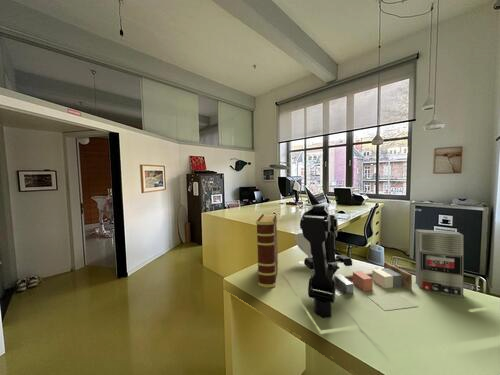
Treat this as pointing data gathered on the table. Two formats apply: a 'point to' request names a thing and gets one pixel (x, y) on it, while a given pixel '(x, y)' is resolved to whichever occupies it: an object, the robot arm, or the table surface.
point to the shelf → (405, 275)
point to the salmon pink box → (362, 280)
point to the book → (394, 277)
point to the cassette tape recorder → (440, 261)
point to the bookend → (343, 285)
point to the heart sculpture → (303, 245)
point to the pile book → (392, 301)
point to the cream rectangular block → (382, 278)
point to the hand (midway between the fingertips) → (328, 281)
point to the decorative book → (267, 250)
